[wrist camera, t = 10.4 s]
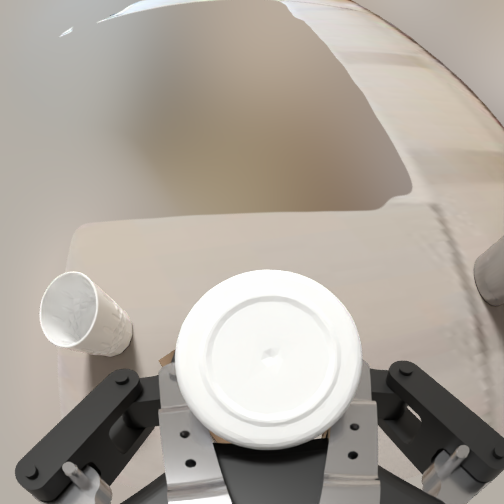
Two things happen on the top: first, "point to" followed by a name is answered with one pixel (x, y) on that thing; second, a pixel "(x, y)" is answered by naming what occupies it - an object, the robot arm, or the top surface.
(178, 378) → the sprinkles bottle
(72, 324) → the white cup
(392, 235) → the top surface
